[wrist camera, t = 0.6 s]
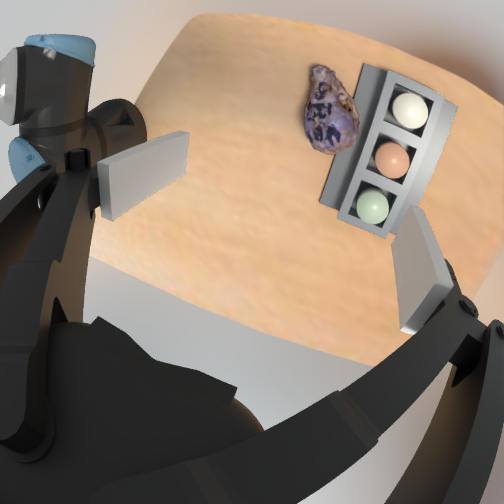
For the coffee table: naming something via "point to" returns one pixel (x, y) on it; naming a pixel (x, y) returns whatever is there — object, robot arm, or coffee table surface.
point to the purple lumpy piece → (330, 113)
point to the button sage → (372, 205)
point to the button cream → (409, 110)
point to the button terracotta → (391, 159)
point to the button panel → (381, 130)
